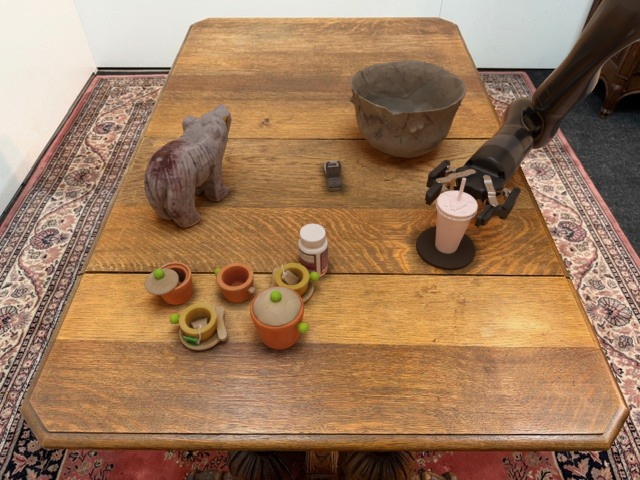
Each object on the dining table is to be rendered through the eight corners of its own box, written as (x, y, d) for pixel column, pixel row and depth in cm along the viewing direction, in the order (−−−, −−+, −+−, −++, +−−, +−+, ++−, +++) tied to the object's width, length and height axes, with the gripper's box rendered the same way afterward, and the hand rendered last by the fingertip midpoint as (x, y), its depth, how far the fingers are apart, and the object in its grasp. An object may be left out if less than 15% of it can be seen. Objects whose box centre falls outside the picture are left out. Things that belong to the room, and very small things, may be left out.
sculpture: (241, 168, 98) (231, 102, 87) (217, 238, 84) (201, 169, 73) (183, 165, 99) (166, 100, 88) (149, 234, 84) (124, 165, 74)
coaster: (475, 233, 84) (475, 230, 84) (474, 274, 77) (475, 272, 77) (418, 224, 86) (418, 222, 85) (413, 264, 79) (413, 262, 78)
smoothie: (470, 240, 82) (490, 176, 72) (457, 264, 78) (477, 199, 68) (435, 228, 84) (450, 163, 74) (421, 250, 80) (435, 185, 70)
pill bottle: (321, 254, 81) (320, 218, 75) (332, 273, 77) (333, 237, 72) (295, 262, 79) (292, 226, 73) (305, 282, 76) (303, 246, 70)
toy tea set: (319, 272, 78) (318, 230, 71) (320, 355, 67) (319, 315, 60) (161, 274, 78) (145, 232, 71) (136, 357, 67) (114, 317, 60)
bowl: (332, 135, 106) (333, 71, 96) (412, 112, 113) (421, 50, 103) (385, 190, 93) (393, 122, 82) (472, 159, 100) (490, 93, 89)
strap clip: (323, 166, 98) (322, 149, 95) (337, 165, 99) (337, 148, 96) (328, 192, 92) (328, 174, 89) (343, 190, 93) (344, 173, 90)
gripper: (461, 131, 83) (415, 175, 75) (541, 159, 77) (501, 212, 68) (453, 165, 89) (409, 211, 80) (527, 195, 83) (489, 248, 74)
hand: (452, 211), depth 74 cm, fingers open, 8 cm apart
